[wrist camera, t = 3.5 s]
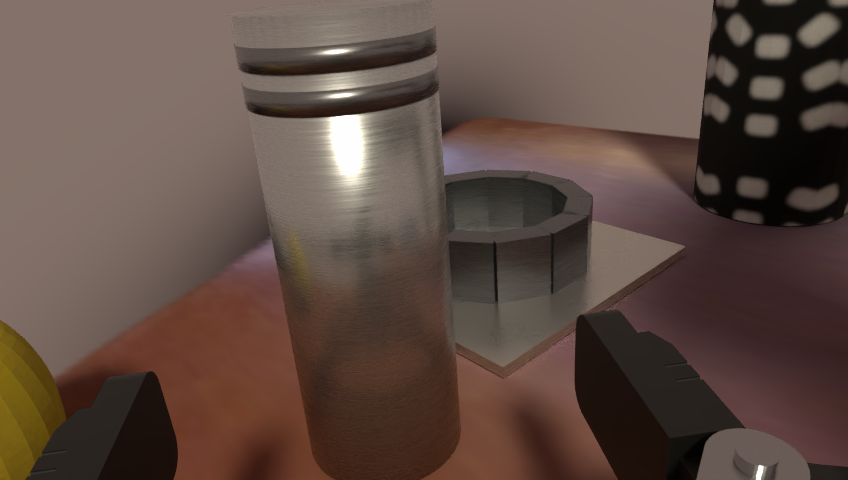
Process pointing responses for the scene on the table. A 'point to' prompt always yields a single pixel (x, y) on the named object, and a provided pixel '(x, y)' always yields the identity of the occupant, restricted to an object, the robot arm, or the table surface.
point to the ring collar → (534, 263)
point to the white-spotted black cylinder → (775, 112)
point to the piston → (358, 225)
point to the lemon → (24, 405)
